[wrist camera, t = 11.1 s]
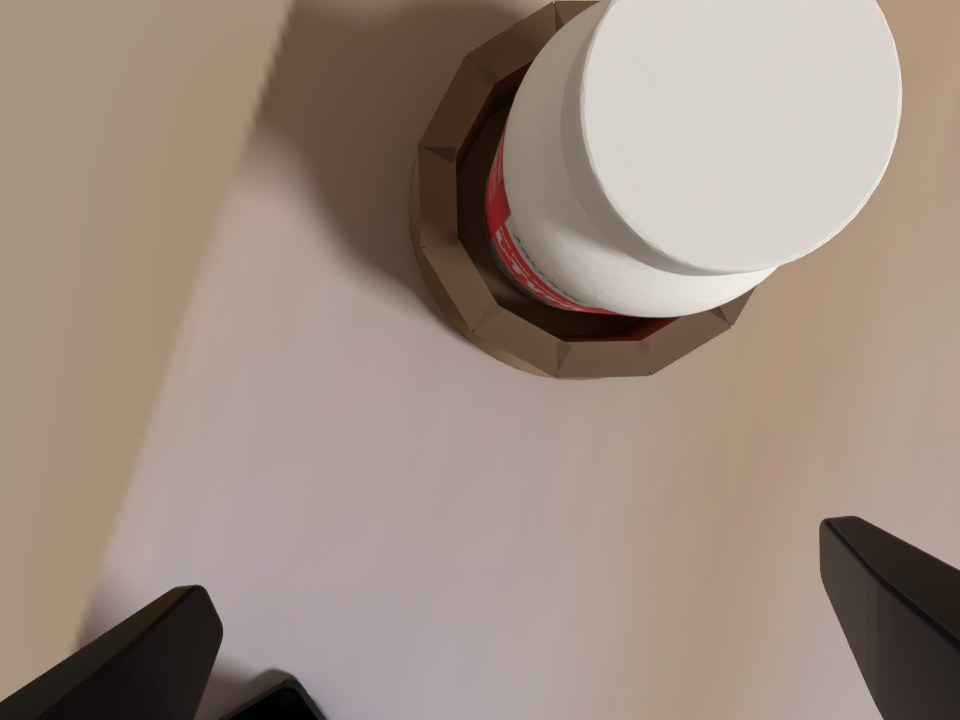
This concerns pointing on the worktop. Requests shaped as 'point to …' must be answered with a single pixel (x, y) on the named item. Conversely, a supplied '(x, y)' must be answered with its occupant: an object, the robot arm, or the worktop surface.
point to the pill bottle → (689, 149)
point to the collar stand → (467, 257)
